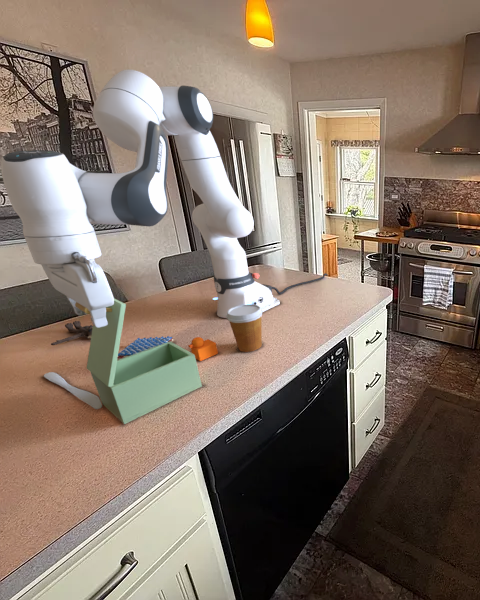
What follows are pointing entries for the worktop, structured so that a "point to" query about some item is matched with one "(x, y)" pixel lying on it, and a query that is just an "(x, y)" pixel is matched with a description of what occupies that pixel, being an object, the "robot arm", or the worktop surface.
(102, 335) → the lid
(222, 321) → the worktop surface
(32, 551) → the worktop surface
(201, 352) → the rubber duck
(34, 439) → the worktop surface
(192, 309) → the worktop surface
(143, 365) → the chest
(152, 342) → the woven mat
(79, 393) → the butter knife
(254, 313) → the disposable coffee cup
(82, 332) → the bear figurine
